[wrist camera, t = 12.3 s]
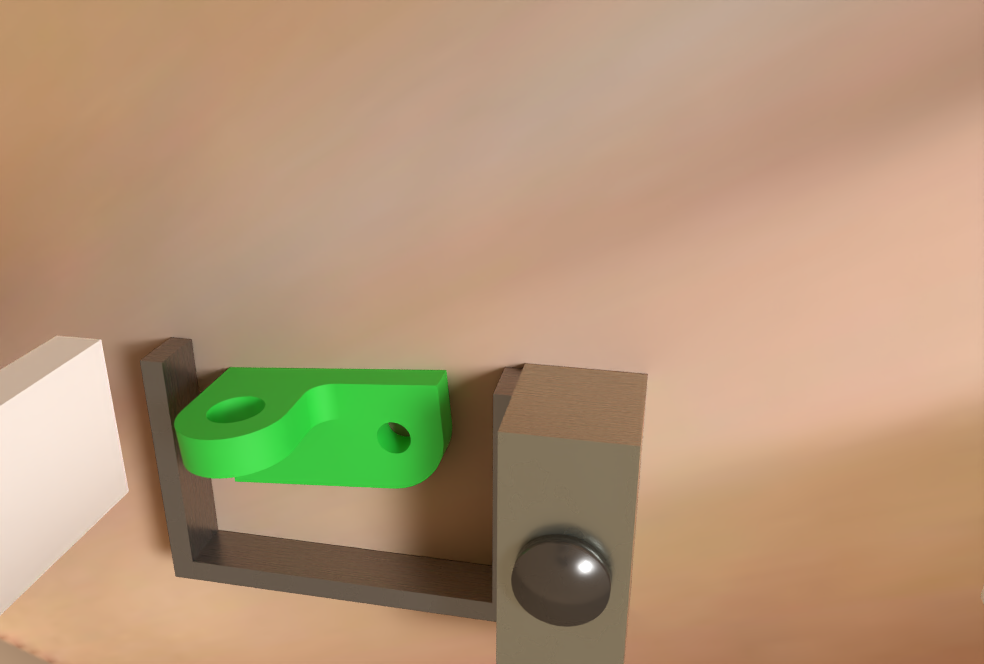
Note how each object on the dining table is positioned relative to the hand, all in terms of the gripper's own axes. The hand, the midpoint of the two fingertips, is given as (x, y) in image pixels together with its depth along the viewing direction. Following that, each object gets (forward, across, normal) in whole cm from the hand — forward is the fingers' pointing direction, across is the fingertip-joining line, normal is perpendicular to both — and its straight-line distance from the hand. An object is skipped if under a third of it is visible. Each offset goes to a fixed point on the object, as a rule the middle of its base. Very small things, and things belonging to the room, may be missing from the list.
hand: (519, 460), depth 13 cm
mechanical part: (+29, -14, -16) cm, 36 cm away
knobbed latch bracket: (+29, -11, -19) cm, 36 cm away
